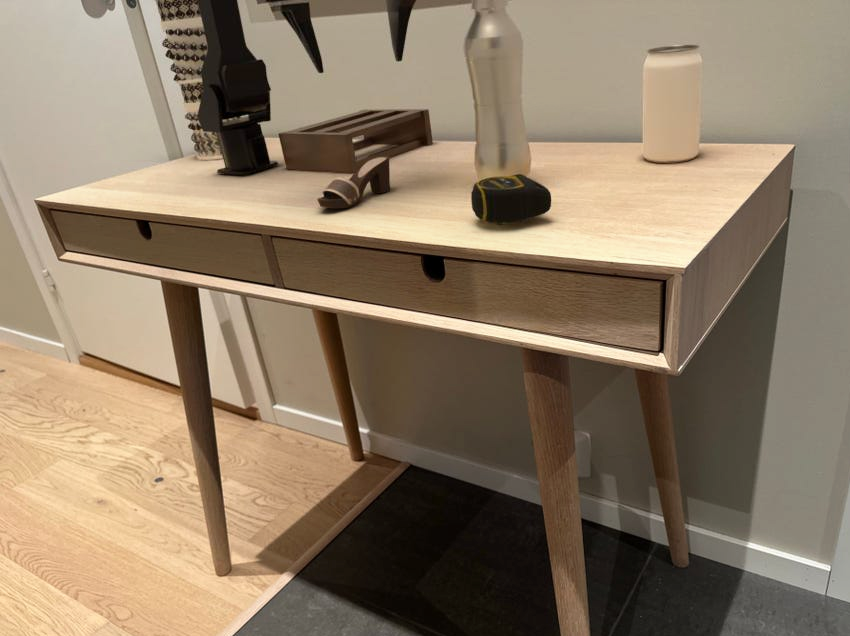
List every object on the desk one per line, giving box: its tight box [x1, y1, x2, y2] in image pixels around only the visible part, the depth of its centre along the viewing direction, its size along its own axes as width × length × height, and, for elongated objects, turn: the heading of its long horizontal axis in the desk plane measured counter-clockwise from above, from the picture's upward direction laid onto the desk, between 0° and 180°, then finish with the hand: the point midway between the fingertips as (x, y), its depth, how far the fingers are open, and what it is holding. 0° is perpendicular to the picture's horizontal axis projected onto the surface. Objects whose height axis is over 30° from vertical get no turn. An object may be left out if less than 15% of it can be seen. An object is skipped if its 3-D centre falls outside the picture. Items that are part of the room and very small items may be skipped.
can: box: [642, 44, 703, 164], centre depth 81 cm, size 6×6×12 cm
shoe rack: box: [278, 108, 434, 174], centre depth 103 cm, size 13×18×5 cm
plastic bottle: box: [462, 0, 532, 181], centre depth 76 cm, size 6×7×20 cm
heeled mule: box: [317, 156, 391, 209], centre depth 80 cm, size 4×11×4 cm, turn 141°
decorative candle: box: [154, 0, 242, 161], centre depth 112 cm, size 9×9×25 cm
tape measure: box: [470, 174, 552, 226], centre depth 67 cm, size 7×7×4 cm
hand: (360, 66), depth 79 cm, fingers open, 9 cm apart
